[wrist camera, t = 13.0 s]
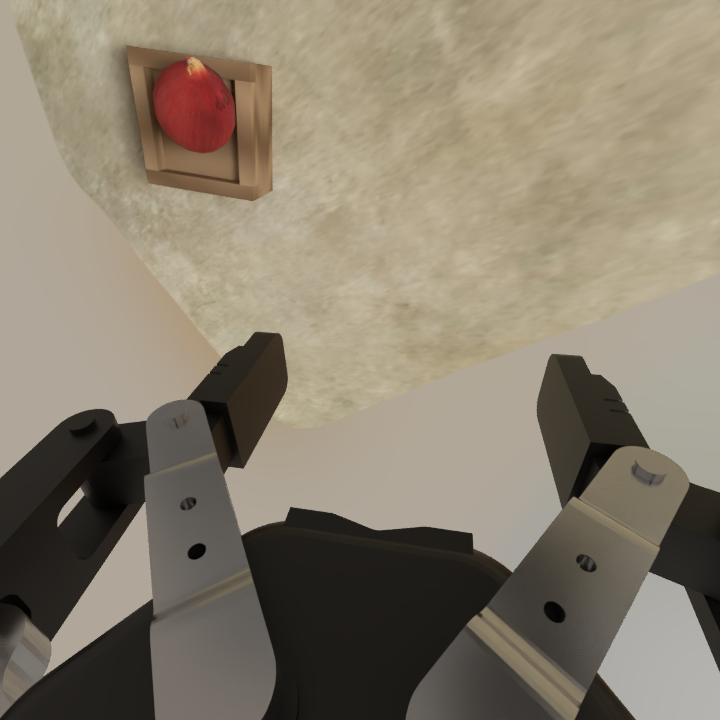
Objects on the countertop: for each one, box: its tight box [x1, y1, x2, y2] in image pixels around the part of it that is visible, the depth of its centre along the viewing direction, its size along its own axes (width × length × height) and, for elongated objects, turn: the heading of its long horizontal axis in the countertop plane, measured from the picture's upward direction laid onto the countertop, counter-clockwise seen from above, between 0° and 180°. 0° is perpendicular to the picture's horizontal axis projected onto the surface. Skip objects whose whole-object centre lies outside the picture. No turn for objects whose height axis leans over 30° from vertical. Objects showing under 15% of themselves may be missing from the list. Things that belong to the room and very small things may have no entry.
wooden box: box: [126, 46, 272, 201], centre depth 36 cm, size 10×10×5 cm
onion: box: [153, 56, 235, 153], centre depth 31 cm, size 6×6×8 cm
